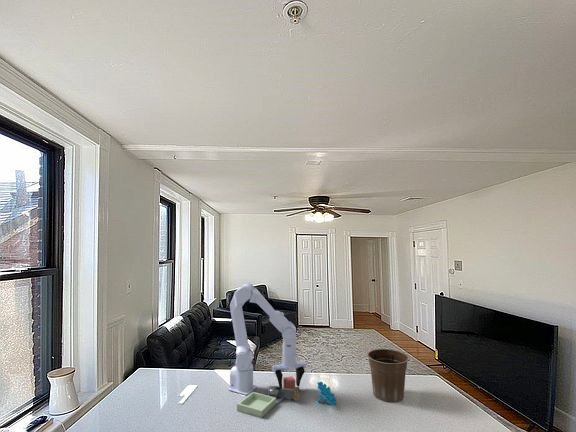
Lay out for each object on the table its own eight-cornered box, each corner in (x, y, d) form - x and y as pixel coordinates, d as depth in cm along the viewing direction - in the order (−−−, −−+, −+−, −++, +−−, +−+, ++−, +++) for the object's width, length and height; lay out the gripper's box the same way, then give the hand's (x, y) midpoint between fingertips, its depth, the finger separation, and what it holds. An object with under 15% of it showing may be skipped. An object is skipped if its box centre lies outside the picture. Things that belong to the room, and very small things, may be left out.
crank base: (263, 400, 134) (263, 398, 134) (275, 389, 143) (275, 388, 143) (277, 404, 131) (277, 402, 131) (288, 393, 140) (288, 391, 140)
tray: (236, 410, 126) (236, 403, 126) (252, 398, 136) (252, 391, 136) (261, 418, 121) (261, 411, 121) (276, 404, 131) (276, 397, 131)
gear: (335, 407, 126) (317, 384, 129) (324, 417, 126) (306, 394, 130) (340, 397, 136) (323, 376, 139) (329, 407, 137) (313, 386, 140)
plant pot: (385, 409, 128) (385, 365, 128) (359, 390, 142) (359, 351, 143) (417, 400, 134) (417, 359, 135) (390, 383, 149) (389, 346, 150)
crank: (267, 399, 133) (267, 391, 133) (269, 393, 138) (269, 385, 138) (297, 401, 132) (298, 393, 132) (299, 395, 137) (299, 387, 137)
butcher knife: (170, 404, 131) (170, 401, 131) (186, 387, 146) (186, 384, 146) (182, 405, 130) (182, 402, 131) (197, 387, 145) (197, 384, 145)
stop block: (286, 393, 139) (286, 381, 140) (283, 389, 143) (283, 377, 143) (295, 392, 141) (295, 380, 141) (292, 388, 144) (292, 376, 145)
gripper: (275, 359, 137) (275, 393, 136) (308, 355, 141) (308, 388, 140) (270, 353, 143) (270, 385, 143) (302, 349, 148) (302, 381, 147)
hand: (289, 386), depth 142 cm, fingers open, 7 cm apart
